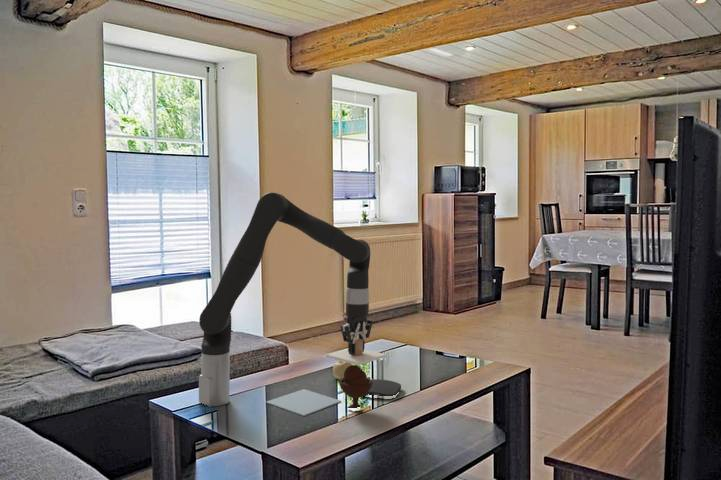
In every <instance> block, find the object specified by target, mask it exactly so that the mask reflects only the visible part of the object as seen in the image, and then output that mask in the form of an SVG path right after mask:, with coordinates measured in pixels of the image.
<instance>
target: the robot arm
mask: <svg viewBox="0 0 721 480" xmlns="http://www.w3.org/2000/svg"><path fill="white" fill-rule="evenodd" d="M277 222H279V223H283V224H286V225H289V226H290V227H293V228H295V229H297V230H298V231H300V232H302V233H303V234H305V235H306V236H308V237H309V238H311V239H312V240H314V241H315V242H317V243H318V244H319V243H320V244H321V245H323V246H325V247H327V248H329V249H331V250H333V251H334V252H336V253H337V254H339V255H340V256H342V257H343V258H345V259H346V260H348V261H349V263H348V265H349V268H348V271H347V275H346V292H345V316H346V317H347V319H346V323H345V324H341V325H340V330H341V335H342V339H343V342H346V343H347V345H348V346H347V348H348V352H349V354H351V355H354V354H355V340H356V338H361V339H363V352H364V349H366V348H365V345H366V344H365V343H366V340H367V339H369V338H370V336H371V331H372V326H373V320H371V319H368V318H367V317H368V316H369V312H370V311H369V310H370V307H369V306H370V292H369V281H370V280H369V270H370V269H369V268H370V263H371V262H370V261H371V248H370V247H371V246H370V245H369V243H368V242H367V241H366V240H364V239H355V238H353V237H351V236H349V235H348V234H346V232H344V231H343V230H342V229H341V228H338V227H337V226H334V225H332V224H330V223H329V222H326V221H325V220H323V219H320V218H319V217H316V216H314V215H312V214H310V213H308V212H307V211H304V210H303V209H301V208H300V207H299V206H297V205H295V204H294V203H292V202H291V200H289V199H287V198H286V197H285V196H284V195H283V194H280V193H279V192H278V193H277V192H273V191H272V192H270V191H269V192H267V193H265V194H263V195H262V196H261V197H259V200H258V201H257V203H256V206H255V209H254V211H253V214H252V216H251V219H250V222H249V224H248V226H247V228H246V229H245V232H244V233H243V235H242V236H241V238H240V239H239V242H238V244H237V246H236V247H235V249H234V251H233V252H232V254H231V256H230V257H229V260H228V263H227V264H226V267H225V268H224V270H223V273H222V276H221V278H220V280H219V282H218V283H219V284H218V285H217V287H216V290H215V292H214V293H213V295H212V297H211V298H210V300H209V301H208V303H207V305H206V306H205V307H204V309H203V310H202V312H201V313H200V316H199V323H198V324H199V326H200V329H201V330H202V331H203V338H202V342H201V349H200V350H201V356H200V357H201V361H200V362H201V370H200V371H201V372H200V373H201V374H199V375H198V403H199V402H200V403H199V404H201V403H202V404H201V405H203V404H204V406H206V405H207V406H206V407H209V408H211V407H218V406H219V407H220V406H225V405H226V404H229V402H230V381H231V380H230V374H231V373H230V369H231V368H230V365H231V364H230V359H231V358H230V354H231V353H230V350H231V349H230V347H231V341H232V310H233V308H234V305H235V303H236V301H238V298H239V297H240V295H241V294H242V292H244V290H245V289H246V288H247V286H248V284H249V283H250V281H252V279H253V277H254V275H255V273H256V271H257V269H258V267H259V265H260V263H261V262H262V261H261V260H262V258H263V255H264V251H265V247H266V244H267V240H268V237H269V235H270V233H271V231H272V230H273V229H274V226H275V225H276V224H277Z"/></svg>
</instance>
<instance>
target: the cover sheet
mask: <svg viewBox="0 0 721 480" xmlns="http://www.w3.org/2000/svg"><path fill="white" fill-rule="evenodd" d="M325 357H326V358H328V359H333V360H336V361H344V362H348V363H351V364H352V365H357V366H362V365H364V364H367V363H370V362H371V363H372V362H373V361H377V360H380V359H383V358H386V357H387V353H382V352H377V351H374V350H371V349H366V348H364V352H363V339H361V338H358V337H356V340H355V354H354V355H351V354H349V352H348V347H347V348H345V349H341V350H337V351H333V352H330V353H327V354H325Z"/></svg>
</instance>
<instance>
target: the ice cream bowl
mask: <svg viewBox="0 0 721 480" xmlns="http://www.w3.org/2000/svg"><path fill="white" fill-rule="evenodd" d="M367 376H368V375H367V373H366V372H365V371H364V370H363V369H362V368H361V367H360V366H359V365H355V364H352V365H351V366H349V367H347V368H346V369H345V371H344V377H343V378H342V379H341V380H338V383H339V386H340V390H341V391H342V392H343V393H344V394H345V395H346V396H348V397H350V398H352V404H351V405H348V407H347V408H357V407H360V405H361V404H359V399H360V398H363V397H362V396H364V395H365V394H366V393H367V392H368V391H369V390H370V389H371V387H372V384H373V381H372V380H373V379H372V378H368V377H367Z"/></svg>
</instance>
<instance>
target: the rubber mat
mask: <svg viewBox="0 0 721 480" xmlns="http://www.w3.org/2000/svg"><path fill="white" fill-rule="evenodd" d="M265 403H266V404H269V405H271V406H274V407H275V408H276V407H277V408H279V409H282V410H286V411H288V412H292V413H294V414H295V415H298V416H299V415H300V416H302V417H306V416H309V415H310V414H313V413H316V412H318V411H322V410H324V409H326V408H329V407H332V406H334V405H337V404H339V403H342V400H340V399H336V398H334V397H331V396H328V395H324V394H322V393H319V392H314V391H312V390H308V389H306V388H303V389H300V390H297V391H293V392H291V393H289V394H285V395H282V396H279V397H276V398H273V399H271V400H270V399H269V400H267V401H265Z"/></svg>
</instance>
